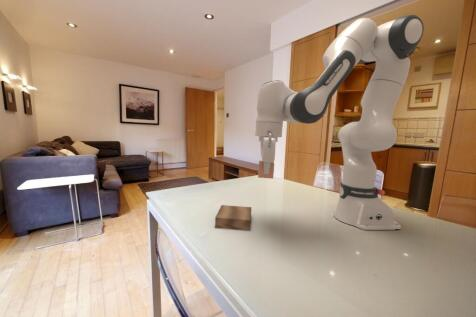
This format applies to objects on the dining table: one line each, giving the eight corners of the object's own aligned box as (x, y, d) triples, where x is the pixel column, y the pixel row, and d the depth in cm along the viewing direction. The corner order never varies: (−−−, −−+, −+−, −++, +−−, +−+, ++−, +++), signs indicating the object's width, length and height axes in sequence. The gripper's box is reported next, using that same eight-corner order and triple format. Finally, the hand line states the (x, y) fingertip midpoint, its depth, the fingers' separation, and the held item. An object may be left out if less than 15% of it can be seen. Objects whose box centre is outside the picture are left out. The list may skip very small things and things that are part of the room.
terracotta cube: (272, 175, 73) (273, 161, 73) (273, 178, 68) (274, 163, 68) (258, 174, 74) (259, 160, 73) (258, 177, 69) (259, 162, 68)
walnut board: (251, 216, 82) (251, 207, 81) (249, 231, 70) (250, 220, 69) (221, 214, 83) (221, 205, 82) (215, 228, 71) (215, 217, 71)
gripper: (281, 132, 58) (277, 179, 60) (275, 131, 79) (272, 167, 81) (259, 130, 59) (256, 177, 61) (259, 131, 79) (256, 166, 81)
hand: (265, 171), depth 71 cm, fingers closed on terracotta cube, 5 cm apart
